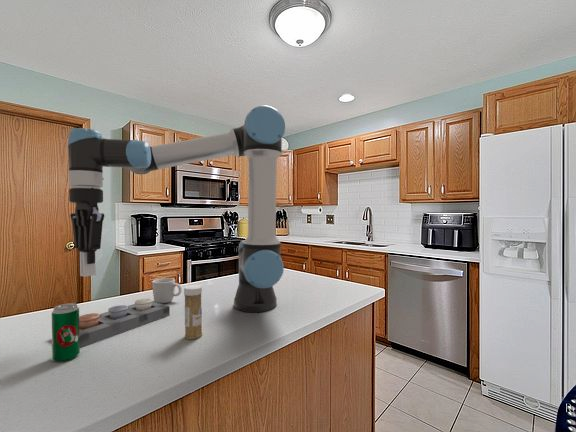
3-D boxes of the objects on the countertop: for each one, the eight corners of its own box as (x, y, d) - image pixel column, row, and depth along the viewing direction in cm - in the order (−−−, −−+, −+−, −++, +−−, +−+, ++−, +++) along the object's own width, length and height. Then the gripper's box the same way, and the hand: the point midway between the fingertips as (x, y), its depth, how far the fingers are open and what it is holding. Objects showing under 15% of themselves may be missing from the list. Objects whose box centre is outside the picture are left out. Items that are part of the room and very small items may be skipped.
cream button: (155, 309, 94) (155, 299, 94) (141, 313, 90) (141, 304, 90) (146, 306, 96) (146, 297, 96) (131, 311, 92) (131, 301, 92)
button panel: (169, 315, 94) (169, 306, 94) (79, 348, 72) (78, 336, 72) (146, 309, 100) (146, 300, 100) (56, 337, 78) (56, 326, 78)
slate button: (131, 316, 87) (131, 306, 87) (114, 322, 83) (114, 311, 83) (122, 313, 90) (121, 304, 89) (105, 319, 85) (104, 309, 85)
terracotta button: (103, 326, 80) (103, 315, 80) (83, 332, 76) (82, 321, 76) (93, 322, 83) (93, 312, 83) (73, 328, 78) (73, 317, 78)
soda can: (62, 352, 70) (61, 302, 69) (84, 351, 70) (83, 302, 70) (46, 363, 65) (45, 309, 64) (70, 362, 65) (69, 309, 65)
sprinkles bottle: (201, 338, 77) (201, 288, 77) (183, 340, 76) (182, 289, 76) (202, 331, 81) (202, 283, 81) (185, 333, 80) (185, 284, 80)
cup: (186, 298, 112) (185, 278, 112) (176, 305, 104) (175, 283, 104) (159, 298, 113) (159, 277, 113) (147, 304, 105) (147, 282, 105)
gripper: (115, 187, 78) (116, 275, 79) (88, 190, 85) (89, 270, 86) (84, 185, 72) (85, 281, 72) (57, 188, 79) (59, 275, 79)
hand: (87, 275), depth 79 cm, fingers closed
